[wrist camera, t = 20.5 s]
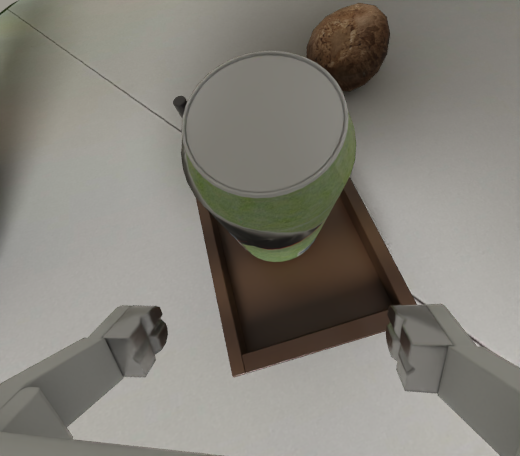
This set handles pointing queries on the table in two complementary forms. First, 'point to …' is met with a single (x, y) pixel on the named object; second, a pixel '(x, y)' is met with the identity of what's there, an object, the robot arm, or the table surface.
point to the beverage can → (268, 150)
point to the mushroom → (351, 44)
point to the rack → (303, 287)
